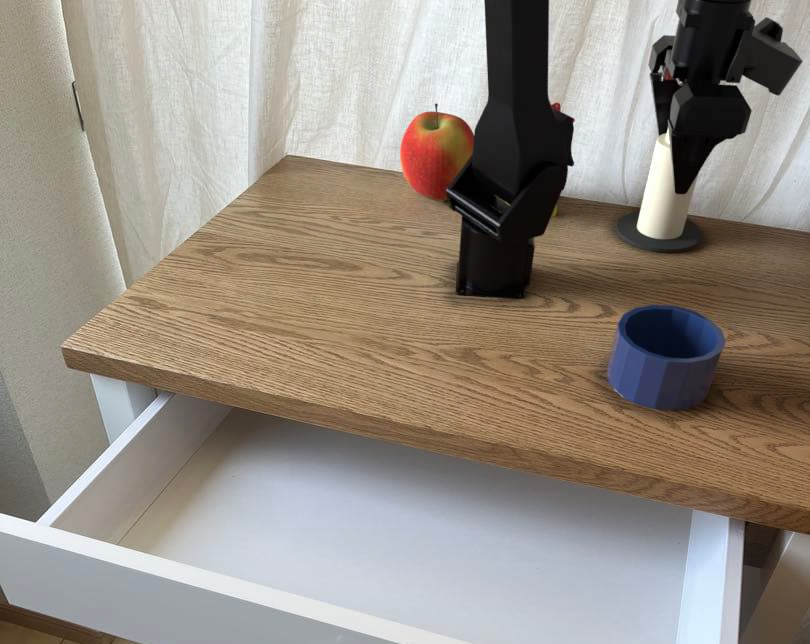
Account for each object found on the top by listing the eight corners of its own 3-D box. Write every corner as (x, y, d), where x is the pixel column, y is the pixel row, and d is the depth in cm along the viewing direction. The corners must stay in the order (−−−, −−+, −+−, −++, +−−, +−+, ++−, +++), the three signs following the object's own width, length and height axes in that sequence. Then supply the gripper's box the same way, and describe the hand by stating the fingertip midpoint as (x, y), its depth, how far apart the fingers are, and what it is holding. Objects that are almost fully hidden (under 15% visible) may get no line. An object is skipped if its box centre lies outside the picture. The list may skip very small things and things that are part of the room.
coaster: (620, 250, 85) (621, 246, 85) (611, 211, 92) (612, 208, 91) (708, 255, 85) (709, 251, 85) (693, 216, 91) (694, 212, 91)
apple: (487, 196, 94) (496, 102, 86) (439, 219, 89) (444, 121, 82) (434, 175, 97) (438, 82, 90) (386, 195, 93) (386, 100, 86)
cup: (611, 411, 66) (624, 358, 63) (601, 353, 72) (613, 301, 69) (715, 418, 66) (734, 365, 62) (697, 359, 72) (714, 307, 68)
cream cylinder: (639, 238, 86) (668, 116, 78) (634, 217, 90) (661, 99, 81) (685, 241, 86) (719, 119, 78) (678, 220, 90) (710, 101, 81)
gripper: (842, 30, 66) (775, 220, 77) (785, -28, 79) (734, 142, 90) (701, 23, 66) (655, 213, 78) (667, -33, 79) (631, 137, 90)
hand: (673, 174), depth 84 cm, fingers open, 9 cm apart
